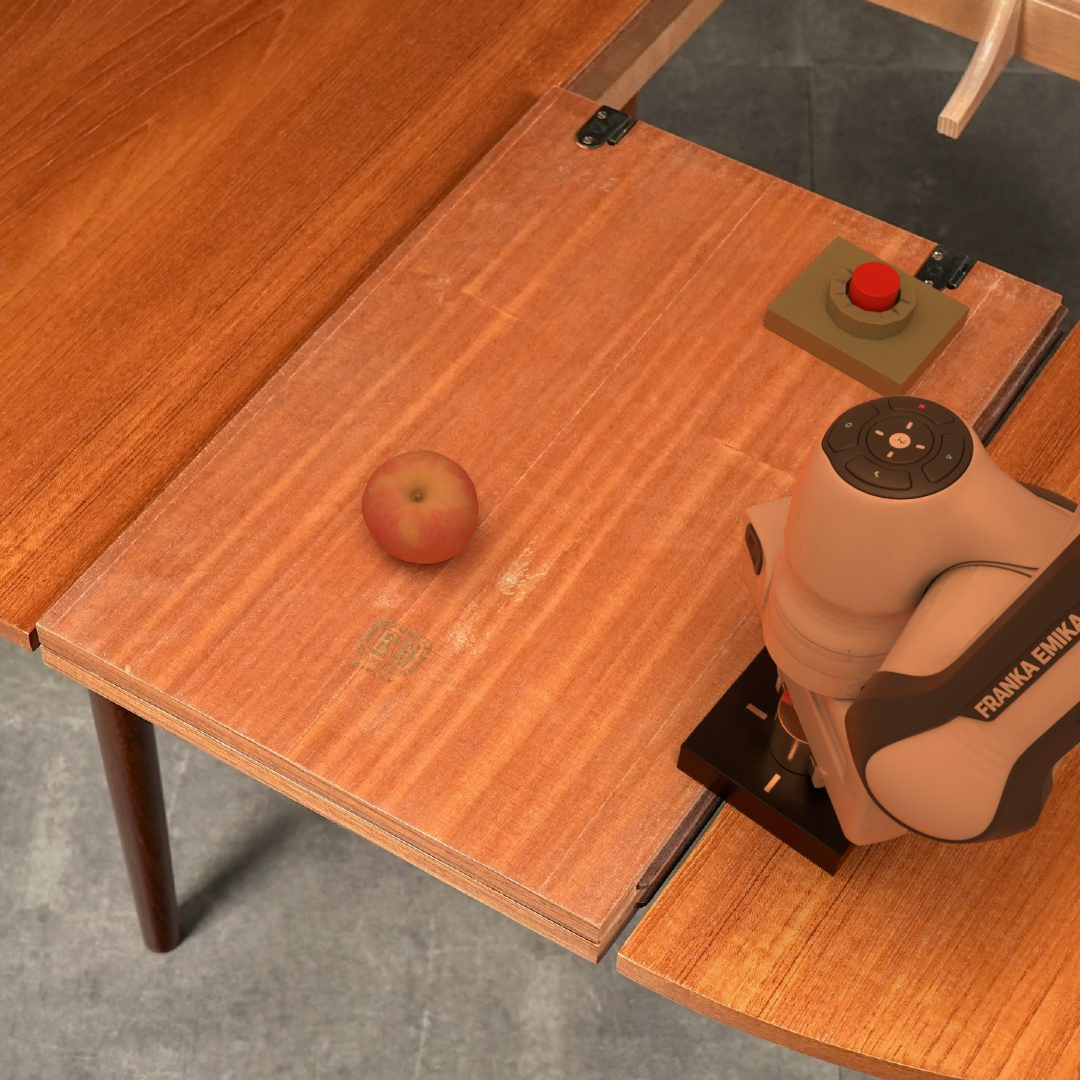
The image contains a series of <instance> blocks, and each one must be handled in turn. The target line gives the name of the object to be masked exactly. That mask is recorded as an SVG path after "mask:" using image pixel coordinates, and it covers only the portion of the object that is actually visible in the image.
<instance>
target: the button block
mask: <svg viewBox="0 0 1080 1080" xmlns="http://www.w3.org/2000/svg"><path fill="white" fill-rule="evenodd" d="M867 262H880V263H884V264H886V265H888V266H890V267H892V268H893V269H894V270H895V271H896V272H897V273H898V275H899V277H900V287H899V291H898V294H897V298H896V301H895V303H894V304H893V306H892V307H890V308H889V309H887V310H885V311H881V312H871V311H865V310H863V309H861V308H859V307H857V306H856V305H855V304H854V303H853V302H852V301H851V299H850V297H849V287H850V283H851V279H852V275H853V272H854V270H855V269H856V268H857V267H858V266H860V265H861V264H864V263H867ZM970 309H971V307H970V306H968V305H966V304H964V303H963V302H960V301H959V300H957V299H955V298H953V297H951V296H949V295H948V294H946V293H945V292H942V291H940V290H939V289H937V288H935V287H933V286H931V285H930V284H927V283H926V282H924V281H922V280H920V279H919V278H917V277H915V276H913V275H911V274H909V273H907V272H906V271H904V270H902V269H900V268H898V267H896V266H894V265H893V264H891V263H889V262H887V261H885V260H884V259H881V258H880V257H878V256H876V255H874V254H873V253H871V252H869V251H867V250H866V249H863V248H862V247H859V246H858V245H856V244H854V243H853V242H851V241H849V240H846V239H845V238H843V237H841V236H840V235H837V236H836V237H835V238H834V239H833V240H832V241H831V242H830V243H829V244H828V245H827V246H826V247H825V249H824V250H822V252H820V253H819V254H818V256H817V257H815V259H814V260H812V262H811V263H809V265H808V266H807V267H806V268H805V269H804V270H803V271H802V272H801V273H800V274H799V275H798V276H797V277H796V278H795V279H794V280H793V281H792V282H791V283H790V284H789V285H788V286H787V287H786V288H785V289H784V290H783V291H782V292H781V293H780V294H779V296H777V297H776V298H775V299H774V300H773V301H772V302H771V303H770V304H769V305H768V307H766V311H765V312H766V313H765V318H764V322H763V328H765V330H768V331H769V332H771V333H772V334H774V335H776V336H778V337H780V338H782V339H783V340H785V341H787V342H789V343H790V344H792V345H794V346H795V347H797V348H798V349H801V350H803V351H804V352H805V353H808V354H809V355H810V356H813V357H815V358H816V359H818V360H820V361H821V362H823V363H825V364H827V365H828V366H830V367H832V368H834V369H836V370H837V371H839V372H840V373H842V374H843V375H845V376H848V377H849V378H851V379H853V380H854V381H856V382H858V383H860V384H862V385H863V386H864V387H867V388H868V389H869V390H872V391H874V392H875V393H877V394H879V395H880V396H881V397H886V396H895V395H905V394H906V393H907V392H908V391H909V390H910V388H911V387H912V386H913V385H914V384H915V383H916V382H917V381H918V379H920V377H921V376H922V375H923V374H924V373H925V371H926V370H928V368H929V367H931V365H932V364H933V363H934V362H935V360H936V359H937V358H938V357H939V356H940V355H941V353H942V352H943V351H944V350H945V349H946V348H947V346H948V345H949V344H950V343H951V342H952V341H953V340H954V339H955V337H956V336H957V335H958V334H959V333H960V332H961V331H962V330H963V328H964V327H965V324H966V322H967V319H968V316H969V313H970Z"/></svg>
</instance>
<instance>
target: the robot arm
mask: <svg viewBox="0 0 1080 1080" xmlns="http://www.w3.org/2000/svg"><path fill="white" fill-rule="evenodd" d="M741 521H742V522H741V529H742V530H741V531H742V534H743V535H742V541H741V548H740V558H739V559H740V567H741V571H742V572H741V573H742V577H743V580H744V583H745V586H746V588H747V591H748V593H749V595H750V599H751V600H752V603H753V605H754V609H755V611H756V613H757V616H758V618H759V621H760V623H761V630H762V637H763V641H764V644H765V645H766V647H767V650H768V652H769V654H770V656H771V657H772V659H773V660H774V662H775V663H776V665H777V672H778V679H777V683H776V689H777V692H778V695H779V697H780V699H781V697H782V695H783V693H784V692H785V691H786V689H787V690H788V693H789V695H790V698H791V700H792V703H793V705H794V708H795V710H796V713H797V716H798V718H799V721H800V723H801V726H802V728H803V731H804V733H805V736H806V739H807V741H808V744H809V746H810V749H811V751H812V754H813V755H810V757H809V760H808V764H807V769H808V771H809V774H810V777H811V779H812V782H813V785H814V787H815V788H820V787H826V790H827V792H828V795H829V797H830V800H831V802H832V805H833V808H834V810H835V813H836V815H837V818H838V820H839V823H840V826H841V828H842V831H843V833H844V835H845V837H846V838H847V839H848V840H849V841H850V842H852V843H854V844H856V845H857V846H867V845H874V844H878V843H882V842H886V841H890V840H893V839H897V838H900V837H902V836H904V835H906V834H907V833H908V832H911V833H913V834H915V835H918V836H920V837H922V838H926V839H928V840H931V841H934V842H939V843H944V844H952V845H969V844H979V843H988V842H993V841H999V840H1001V839H1005V838H1009V837H1010V838H1011V837H1013V836H1017V835H1019V834H1023V833H1025V832H1027V831H1029V830H1031V829H1032V828H1033V827H1035V825H1036V824H1037V822H1038V821H1039V819H1040V817H1041V814H1042V812H1043V810H1044V808H1045V806H1046V803H1047V801H1048V799H1049V797H1050V795H1051V793H1052V790H1053V788H1054V781H1055V778H1056V776H1057V774H1058V772H1059V770H1060V769H1061V767H1062V764H1063V762H1064V761H1065V759H1066V757H1067V755H1068V753H1069V752H1070V751H1071V750H1072V749H1074V748H1075V747H1076V746H1077V745H1078V744H1079V743H1080V502H1079V503H1077V502H1075V501H1074V500H1072V499H1070V498H1068V497H1066V496H1064V495H1061V494H1060V493H1058V492H1055V491H1052V490H1051V489H1047V488H1045V487H1042V486H1039V485H1035V484H1032V483H1028V482H1024V481H1020V480H1016V479H1014V478H1012V477H1011V476H1010V475H1009V474H1008V473H1006V472H1005V471H1004V470H1003V469H1002V468H1001V467H1000V466H999V465H998V464H996V463H995V461H994V460H993V459H992V457H991V456H990V455H989V453H988V452H987V450H986V449H985V447H984V445H983V443H982V441H981V439H980V438H979V436H978V434H977V433H976V431H975V430H974V428H973V427H972V426H971V424H970V423H969V422H968V421H967V420H966V419H965V418H963V416H961V415H960V414H959V413H957V411H955V410H953V409H952V408H950V407H948V406H946V405H945V404H942V403H939V402H937V401H935V400H932V399H929V398H925V397H922V396H916V395H905V394H904V395H895V396H886V397H884V396H880V397H876V398H873V399H869V400H866V401H863V402H861V403H859V404H855V405H853V406H852V407H850V408H848V409H846V410H845V411H843V412H842V413H841V414H839V415H838V416H837V417H836V418H834V419H833V420H832V421H831V422H830V423H829V424H828V425H827V426H826V427H825V428H824V429H823V431H821V432H820V433H819V435H818V437H817V439H816V440H815V442H814V443H813V445H812V446H811V449H810V450H809V452H808V454H807V456H806V458H805V461H804V462H803V465H802V468H801V470H800V472H799V476H798V479H797V481H796V484H795V487H794V490H793V493H792V494H791V495H786V496H782V497H778V498H777V497H776V498H774V499H769V500H767V501H762V502H760V503H756V504H753V505H750V506H747V507H745V508H744V511H743V514H742V520H741ZM765 645H764V646H765Z"/></svg>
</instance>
